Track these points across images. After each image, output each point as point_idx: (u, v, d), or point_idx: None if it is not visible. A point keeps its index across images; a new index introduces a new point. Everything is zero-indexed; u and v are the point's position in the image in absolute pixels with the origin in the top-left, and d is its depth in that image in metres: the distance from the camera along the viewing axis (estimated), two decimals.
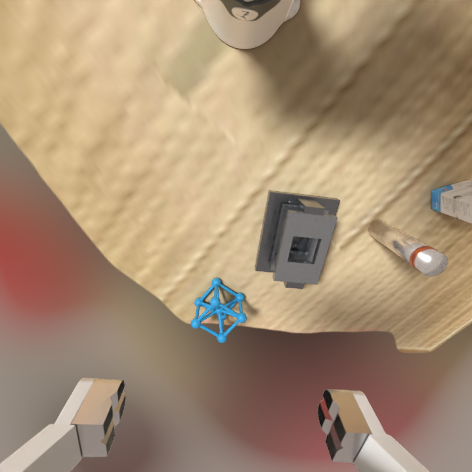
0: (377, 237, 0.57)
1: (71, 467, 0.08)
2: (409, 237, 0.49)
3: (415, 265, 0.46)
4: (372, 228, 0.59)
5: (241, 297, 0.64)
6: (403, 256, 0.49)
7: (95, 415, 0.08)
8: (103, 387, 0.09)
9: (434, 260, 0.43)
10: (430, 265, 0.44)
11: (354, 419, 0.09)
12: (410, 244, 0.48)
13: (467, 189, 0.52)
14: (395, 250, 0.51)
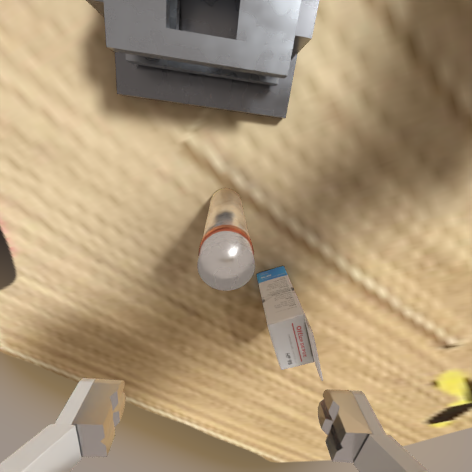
0: (220, 195, 0.31)
1: (71, 467, 0.08)
2: None
3: (214, 234, 0.20)
4: (229, 191, 0.34)
5: None
6: (216, 220, 0.23)
7: (95, 415, 0.08)
8: (103, 387, 0.09)
9: (238, 261, 0.19)
10: (226, 257, 0.19)
11: (354, 419, 0.09)
12: (244, 226, 0.23)
13: None
14: (218, 211, 0.25)
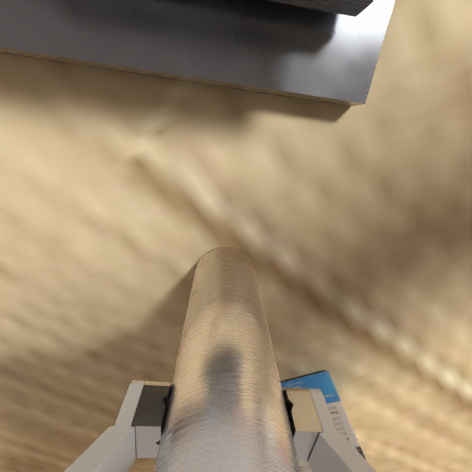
0: (213, 280, 0.14)
1: (128, 468, 0.08)
2: None
3: None
4: (233, 258, 0.16)
5: None
6: None
7: (152, 417, 0.08)
8: (153, 389, 0.09)
9: None
10: None
11: (307, 417, 0.09)
12: None
13: None
14: (202, 394, 0.08)
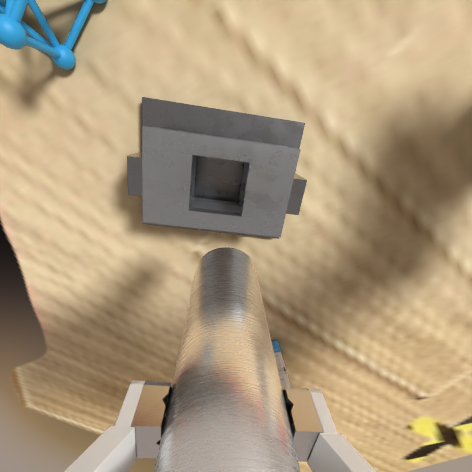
0: (213, 280, 0.14)
1: (128, 468, 0.08)
2: None
3: None
4: (233, 258, 0.16)
5: (65, 59, 0.27)
6: None
7: (152, 417, 0.08)
8: (153, 389, 0.09)
9: None
10: None
11: (307, 417, 0.09)
12: None
13: None
14: (202, 394, 0.08)
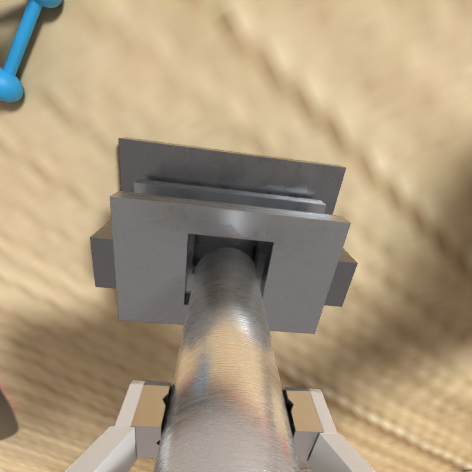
0: (213, 280, 0.14)
1: (128, 468, 0.08)
2: None
3: None
4: (233, 258, 0.16)
5: (4, 89, 0.19)
6: None
7: (152, 417, 0.08)
8: (153, 389, 0.09)
9: None
10: None
11: (307, 417, 0.09)
12: None
13: None
14: (202, 394, 0.08)
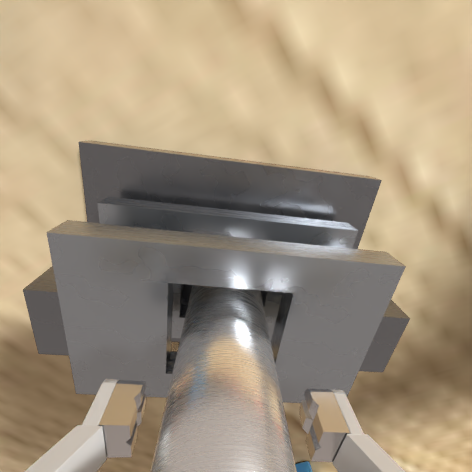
0: None
1: (97, 468, 0.08)
2: None
3: None
4: None
5: None
6: (190, 451, 0.07)
7: (121, 416, 0.08)
8: (126, 388, 0.09)
9: None
10: None
11: (333, 418, 0.09)
12: (286, 464, 0.07)
13: None
14: (202, 368, 0.09)
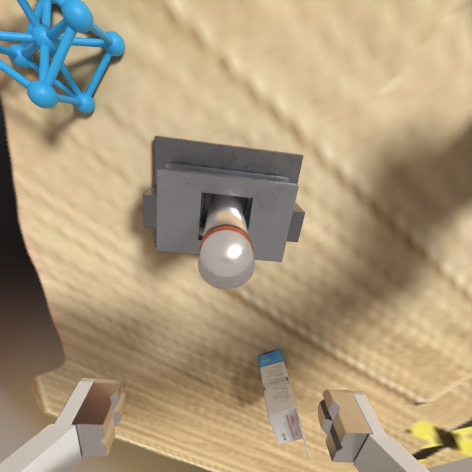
0: (219, 196, 0.32)
1: (71, 467, 0.08)
2: None
3: (214, 233, 0.20)
4: None
5: (86, 105, 0.30)
6: (216, 220, 0.23)
7: (95, 415, 0.08)
8: (103, 387, 0.09)
9: (239, 260, 0.20)
10: (226, 256, 0.19)
11: (354, 419, 0.09)
12: (244, 226, 0.24)
13: (290, 384, 0.47)
14: (218, 211, 0.26)
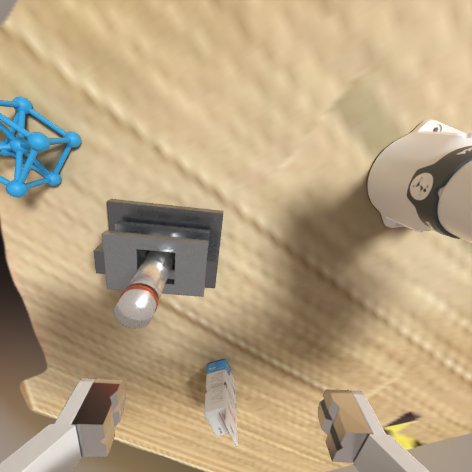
0: None
1: (71, 467, 0.08)
2: (164, 279, 0.37)
3: (127, 291, 0.31)
4: None
5: (53, 181, 0.41)
6: (137, 277, 0.34)
7: (95, 415, 0.08)
8: (103, 387, 0.09)
9: (140, 311, 0.30)
10: (131, 308, 0.30)
11: (354, 419, 0.09)
12: (156, 280, 0.34)
13: (231, 387, 0.58)
14: (143, 267, 0.36)
